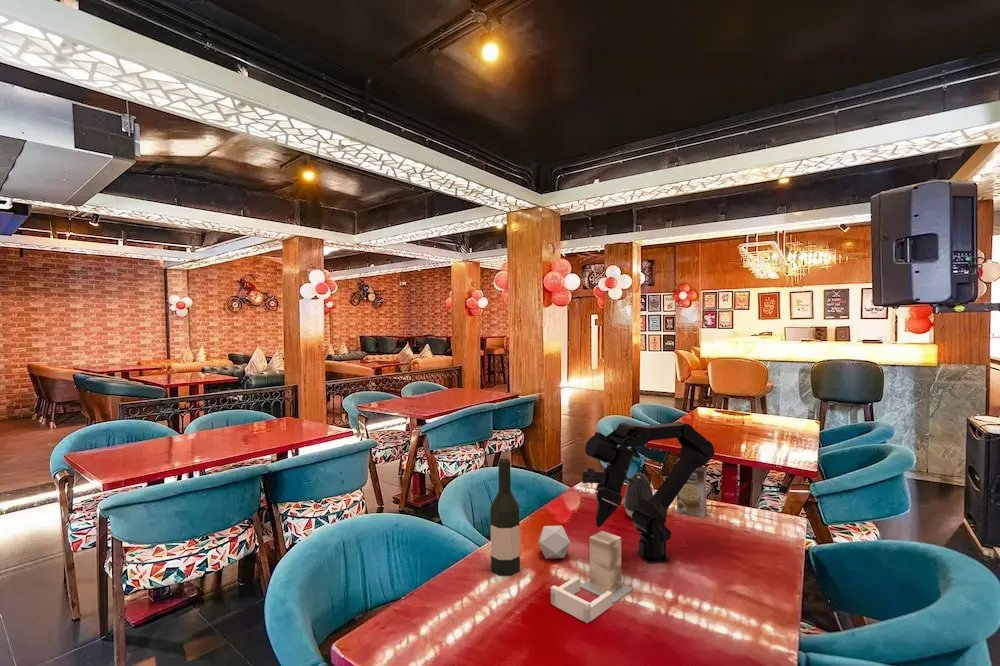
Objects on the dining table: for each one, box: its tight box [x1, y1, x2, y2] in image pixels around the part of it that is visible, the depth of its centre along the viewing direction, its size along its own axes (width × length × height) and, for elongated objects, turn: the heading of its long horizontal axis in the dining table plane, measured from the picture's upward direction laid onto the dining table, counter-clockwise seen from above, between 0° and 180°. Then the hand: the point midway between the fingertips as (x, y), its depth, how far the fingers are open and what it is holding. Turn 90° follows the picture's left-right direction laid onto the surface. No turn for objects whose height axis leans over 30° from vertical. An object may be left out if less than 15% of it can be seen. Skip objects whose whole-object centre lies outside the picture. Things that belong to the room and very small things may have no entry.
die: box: [537, 525, 571, 560], centre depth 135 cm, size 8×9×10 cm
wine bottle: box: [489, 456, 521, 577], centre depth 128 cm, size 8×8×30 cm
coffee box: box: [676, 466, 707, 519], centre depth 166 cm, size 9×6×16 cm
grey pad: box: [580, 579, 634, 604], centre depth 118 cm, size 8×10×1 cm
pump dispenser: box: [623, 472, 654, 519], centre depth 162 cm, size 10×10×15 cm
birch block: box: [589, 530, 623, 594], centre depth 118 cm, size 6×6×12 cm
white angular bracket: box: [550, 576, 614, 624], centre depth 111 cm, size 10×10×4 cm
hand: (597, 523), depth 127 cm, fingers open, 9 cm apart
